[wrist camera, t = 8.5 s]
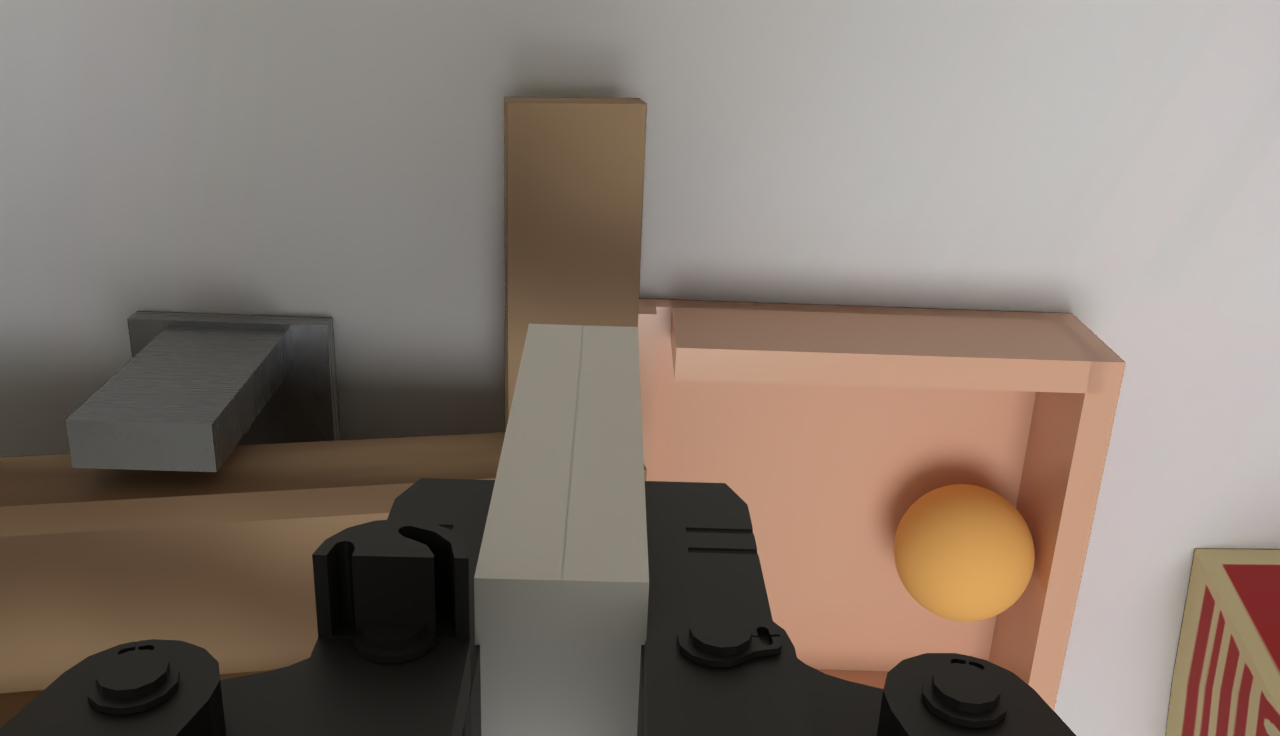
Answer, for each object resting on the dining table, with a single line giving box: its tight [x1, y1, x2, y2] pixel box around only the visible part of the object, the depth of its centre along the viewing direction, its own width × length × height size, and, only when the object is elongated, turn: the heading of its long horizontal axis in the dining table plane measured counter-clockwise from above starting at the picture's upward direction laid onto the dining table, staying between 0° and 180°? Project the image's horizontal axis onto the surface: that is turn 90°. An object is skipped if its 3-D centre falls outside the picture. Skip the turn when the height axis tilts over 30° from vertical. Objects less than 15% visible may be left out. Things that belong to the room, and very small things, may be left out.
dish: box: [638, 299, 1126, 711], centre depth 31 cm, size 12×12×4 cm
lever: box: [0, 97, 647, 728], centre depth 26 cm, size 15×24×3 cm, turn 88°
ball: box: [894, 484, 1035, 622], centre depth 30 cm, size 4×4×4 cm
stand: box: [65, 311, 340, 472], centre depth 29 cm, size 10×5×6 cm, turn 178°
